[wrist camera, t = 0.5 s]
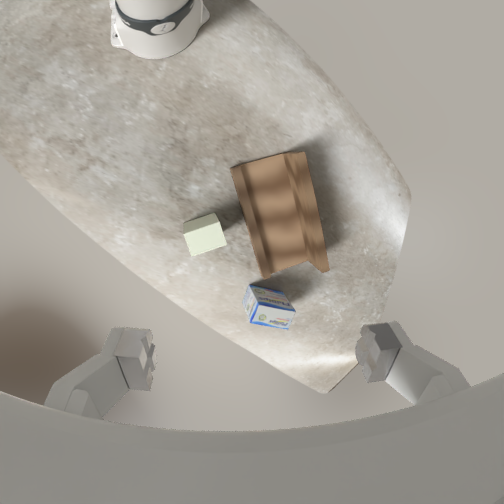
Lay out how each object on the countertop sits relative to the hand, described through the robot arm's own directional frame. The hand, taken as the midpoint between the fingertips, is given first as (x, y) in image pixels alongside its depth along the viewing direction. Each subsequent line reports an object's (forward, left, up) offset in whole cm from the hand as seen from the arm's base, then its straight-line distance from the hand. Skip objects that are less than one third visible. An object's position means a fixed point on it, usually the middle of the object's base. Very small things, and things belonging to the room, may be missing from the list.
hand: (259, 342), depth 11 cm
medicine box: (+24, +6, -45) cm, 51 cm away
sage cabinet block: (+6, -1, -45) cm, 45 cm away
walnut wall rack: (+8, +12, -45) cm, 47 cm away
